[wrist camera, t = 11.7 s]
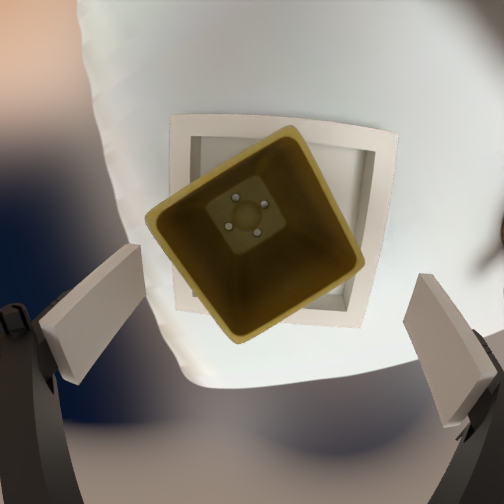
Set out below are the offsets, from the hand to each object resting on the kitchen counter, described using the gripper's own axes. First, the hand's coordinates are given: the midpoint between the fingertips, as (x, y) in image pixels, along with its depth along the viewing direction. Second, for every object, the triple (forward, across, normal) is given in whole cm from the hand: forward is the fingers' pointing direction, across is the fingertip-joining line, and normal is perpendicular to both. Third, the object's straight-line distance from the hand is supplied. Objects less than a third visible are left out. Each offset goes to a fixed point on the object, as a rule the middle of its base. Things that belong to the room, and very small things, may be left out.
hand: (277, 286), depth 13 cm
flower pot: (+11, -3, 0) cm, 11 cm away
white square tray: (+12, -1, -1) cm, 12 cm away
